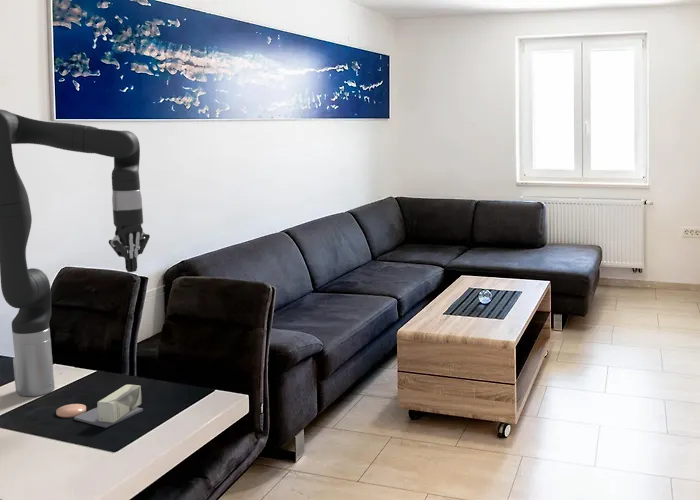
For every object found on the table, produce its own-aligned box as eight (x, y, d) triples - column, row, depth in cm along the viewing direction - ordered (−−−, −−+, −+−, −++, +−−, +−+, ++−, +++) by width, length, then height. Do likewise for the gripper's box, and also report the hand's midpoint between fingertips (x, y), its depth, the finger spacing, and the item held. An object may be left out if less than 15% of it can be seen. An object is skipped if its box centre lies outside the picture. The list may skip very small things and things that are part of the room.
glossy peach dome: (50, 414, 186) (50, 411, 186) (73, 405, 192) (73, 402, 192) (69, 419, 182) (69, 416, 182) (92, 409, 188) (92, 406, 188)
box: (142, 403, 190) (114, 424, 178) (126, 402, 191) (97, 422, 179) (140, 384, 189) (112, 403, 177) (125, 382, 190) (96, 402, 178)
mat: (74, 419, 182) (73, 417, 182) (111, 403, 193) (111, 401, 192) (106, 427, 177) (105, 425, 177) (143, 410, 187) (142, 408, 187)
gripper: (135, 204, 205) (139, 266, 208) (97, 209, 193) (102, 274, 196) (156, 205, 201) (159, 268, 204) (118, 210, 190) (123, 277, 193)
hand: (131, 271), depth 200 cm, fingers closed
